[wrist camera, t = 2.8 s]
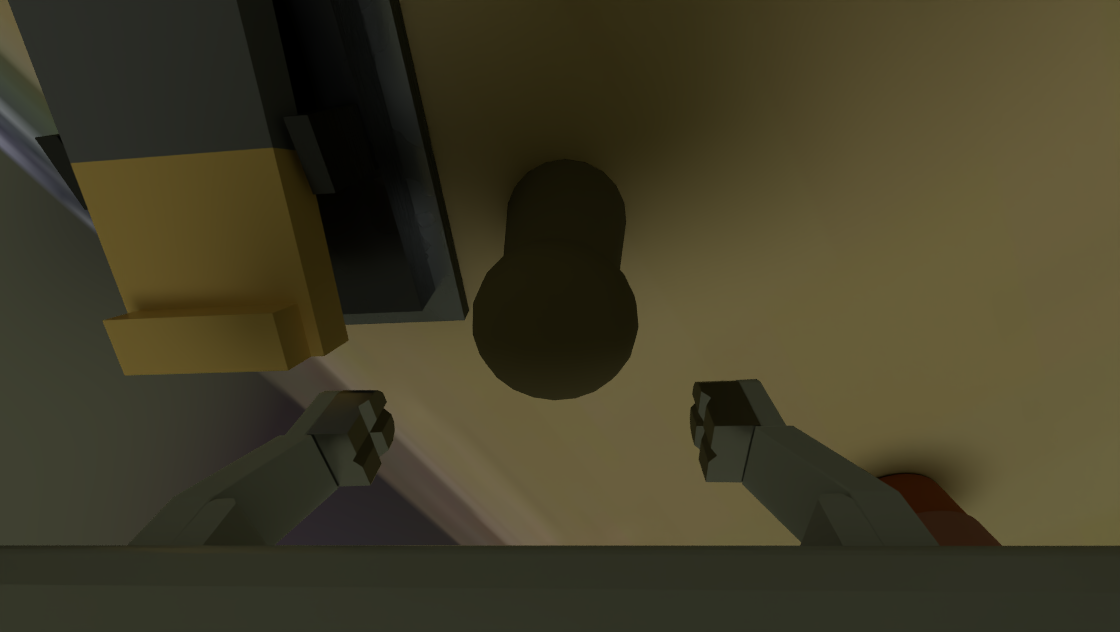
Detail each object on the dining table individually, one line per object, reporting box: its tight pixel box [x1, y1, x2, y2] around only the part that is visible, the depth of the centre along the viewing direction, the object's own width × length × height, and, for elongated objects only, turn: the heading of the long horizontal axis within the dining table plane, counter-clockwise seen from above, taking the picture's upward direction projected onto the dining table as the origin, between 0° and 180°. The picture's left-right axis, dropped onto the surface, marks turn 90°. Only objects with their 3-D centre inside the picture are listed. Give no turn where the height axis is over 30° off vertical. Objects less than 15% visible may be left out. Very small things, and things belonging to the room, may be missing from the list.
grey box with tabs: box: [35, 0, 469, 325], centre depth 17 cm, size 20×12×7 cm, turn 4°
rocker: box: [8, 0, 348, 375], centre depth 13 cm, size 14×7×3 cm, turn 4°
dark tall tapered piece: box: [473, 159, 638, 400], centre depth 16 cm, size 6×6×11 cm
